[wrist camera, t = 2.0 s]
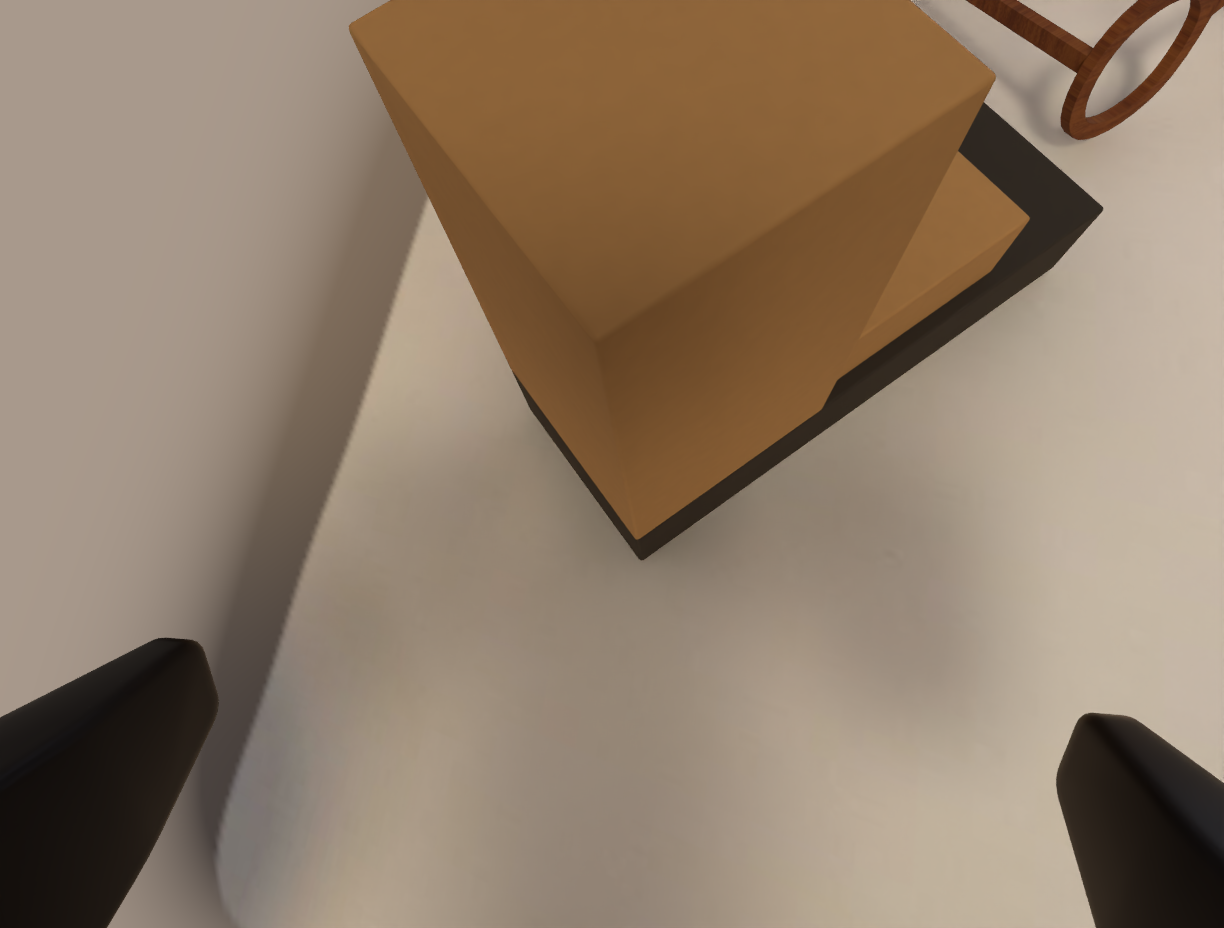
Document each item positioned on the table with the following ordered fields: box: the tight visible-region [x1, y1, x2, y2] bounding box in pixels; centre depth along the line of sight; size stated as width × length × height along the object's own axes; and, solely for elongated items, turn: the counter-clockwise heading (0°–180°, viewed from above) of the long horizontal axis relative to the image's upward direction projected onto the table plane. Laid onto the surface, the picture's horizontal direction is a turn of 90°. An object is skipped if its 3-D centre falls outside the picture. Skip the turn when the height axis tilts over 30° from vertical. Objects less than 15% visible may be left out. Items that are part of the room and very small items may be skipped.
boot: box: [349, 0, 1103, 560], centre depth 17 cm, size 16×6×14 cm, turn 125°
